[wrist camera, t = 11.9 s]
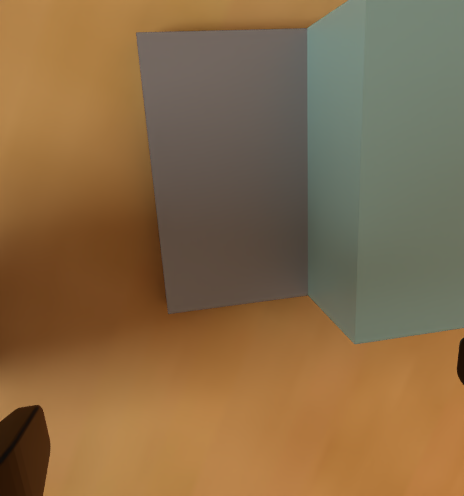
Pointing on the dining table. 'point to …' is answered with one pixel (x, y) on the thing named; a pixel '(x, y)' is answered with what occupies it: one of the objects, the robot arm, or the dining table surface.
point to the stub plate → (228, 163)
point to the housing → (387, 167)
